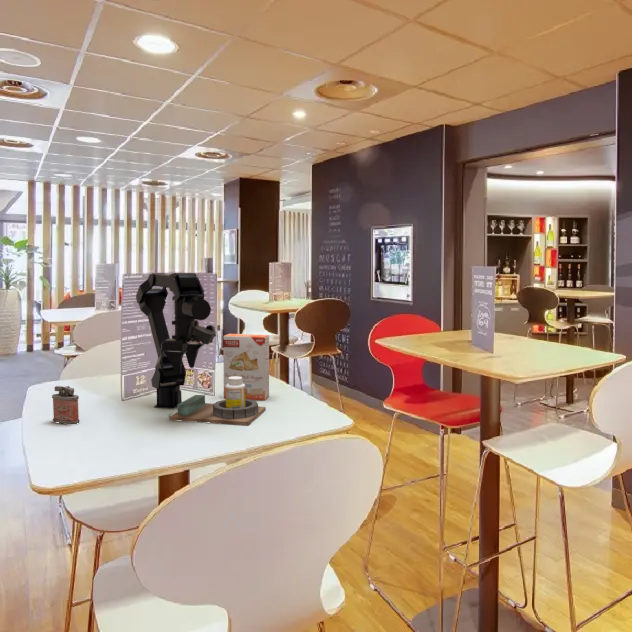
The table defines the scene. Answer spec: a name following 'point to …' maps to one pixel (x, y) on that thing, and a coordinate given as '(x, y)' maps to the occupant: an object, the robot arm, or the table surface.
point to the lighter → (65, 405)
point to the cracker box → (248, 363)
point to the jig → (217, 411)
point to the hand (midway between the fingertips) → (185, 370)
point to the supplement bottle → (235, 393)
